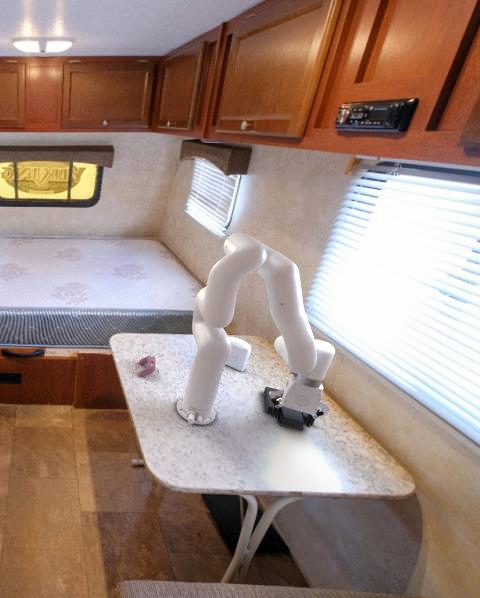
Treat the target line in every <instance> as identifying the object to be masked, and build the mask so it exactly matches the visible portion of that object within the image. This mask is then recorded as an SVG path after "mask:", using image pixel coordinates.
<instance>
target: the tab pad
mask: <svg viewBox="0 0 480 598" xmlns="http://www.w3.org/2000/svg"><path fill="white" fill-rule="evenodd" d="M278 416H279V419H280V425H281V426H286V427H289V428H292V429H296V430H300V431H302V430H303V428H304V425H305V424H304V420H303V417H302V413H301V412H300V411H297V410H293V409H289V408H286V407H284V406H282V407H280V412H279V414H278Z"/></svg>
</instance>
